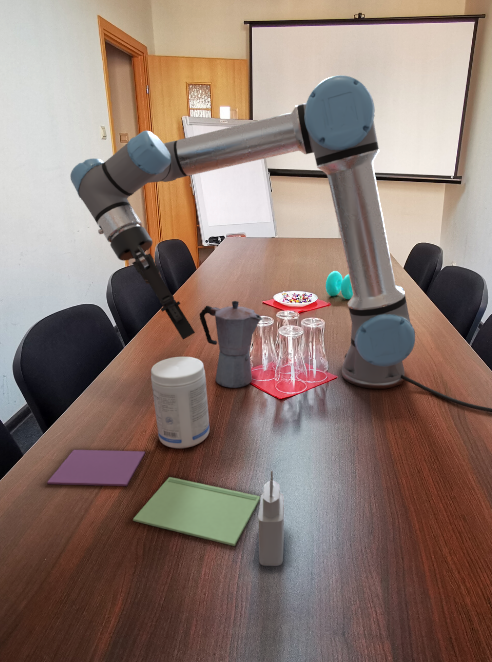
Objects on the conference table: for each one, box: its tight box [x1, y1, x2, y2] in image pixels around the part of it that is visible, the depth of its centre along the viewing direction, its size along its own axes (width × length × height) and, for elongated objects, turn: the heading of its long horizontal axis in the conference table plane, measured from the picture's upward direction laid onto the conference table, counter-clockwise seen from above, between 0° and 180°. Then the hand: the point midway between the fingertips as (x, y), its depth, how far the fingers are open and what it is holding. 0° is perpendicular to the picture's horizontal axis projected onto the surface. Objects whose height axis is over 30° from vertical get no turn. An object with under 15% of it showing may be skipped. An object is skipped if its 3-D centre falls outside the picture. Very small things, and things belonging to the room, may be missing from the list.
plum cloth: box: [46, 449, 146, 487], centre depth 78 cm, size 13×9×1 cm
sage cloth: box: [132, 476, 261, 547], centre depth 69 cm, size 16×10×1 cm, turn 74°
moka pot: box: [199, 300, 263, 389], centre depth 107 cm, size 10×15×20 cm, turn 78°
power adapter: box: [257, 470, 285, 567], centre depth 60 cm, size 3×5×12 cm, turn 179°
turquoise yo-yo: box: [325, 270, 353, 300], centre depth 179 cm, size 10×10×10 cm
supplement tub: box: [150, 356, 211, 449], centre depth 85 cm, size 10×10×15 cm
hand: (188, 335), depth 92 cm, fingers closed
